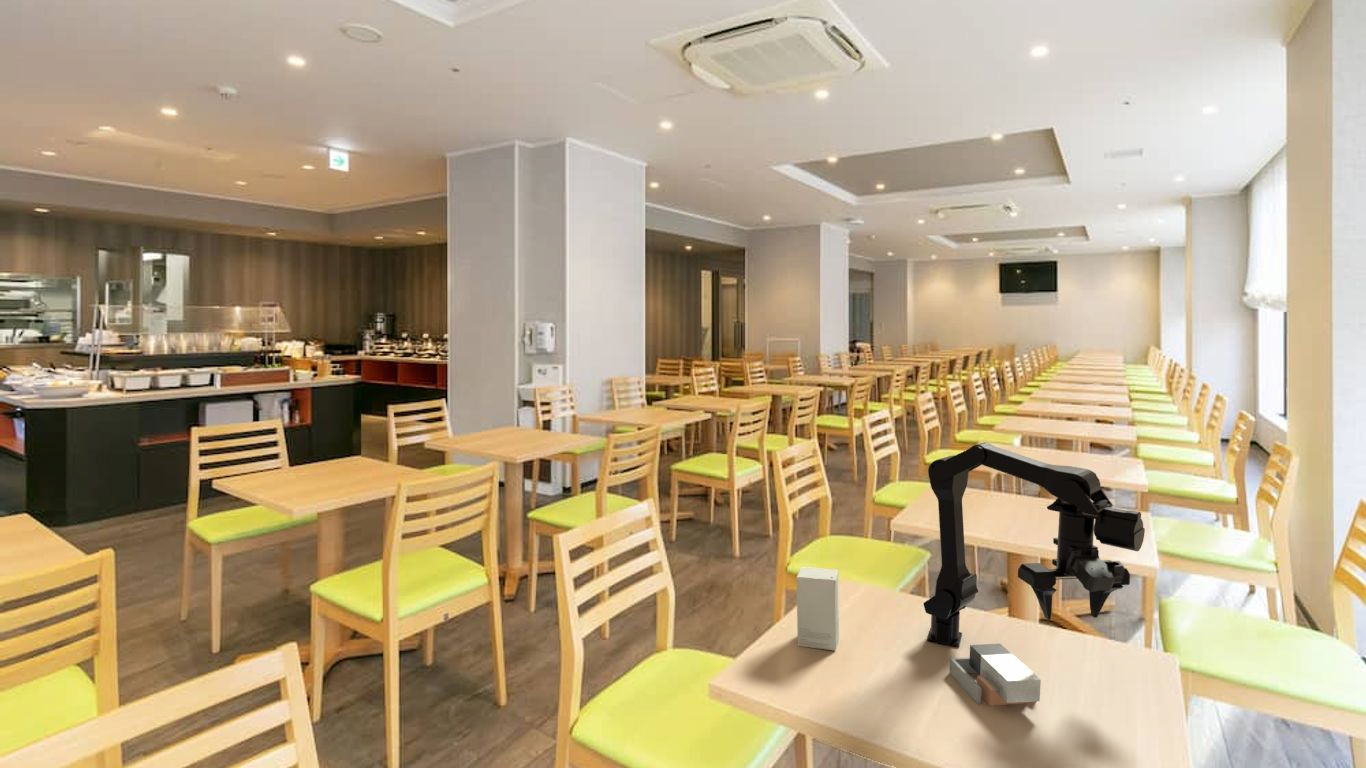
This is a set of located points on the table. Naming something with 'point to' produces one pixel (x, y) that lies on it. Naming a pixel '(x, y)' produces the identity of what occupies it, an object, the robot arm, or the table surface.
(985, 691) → the tan block
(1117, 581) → the robot arm
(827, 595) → the skincare box
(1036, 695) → the gray capped pillar
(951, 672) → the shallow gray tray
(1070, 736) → the table surface
